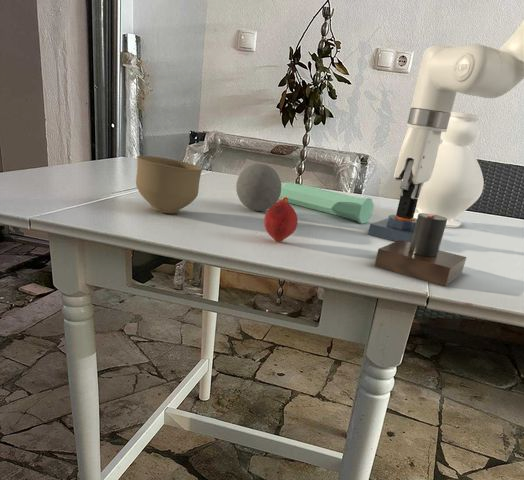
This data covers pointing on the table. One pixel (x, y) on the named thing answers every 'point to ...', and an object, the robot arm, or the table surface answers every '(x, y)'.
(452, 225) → the decorative vase
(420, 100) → the robot arm
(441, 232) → the knob
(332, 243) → the table surface
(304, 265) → the table surface
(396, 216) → the button
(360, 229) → the table surface
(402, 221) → the button box
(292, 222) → the onion
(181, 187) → the bowl
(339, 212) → the green hexagonal prism
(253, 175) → the decorative ball
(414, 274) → the brown rectangular block
